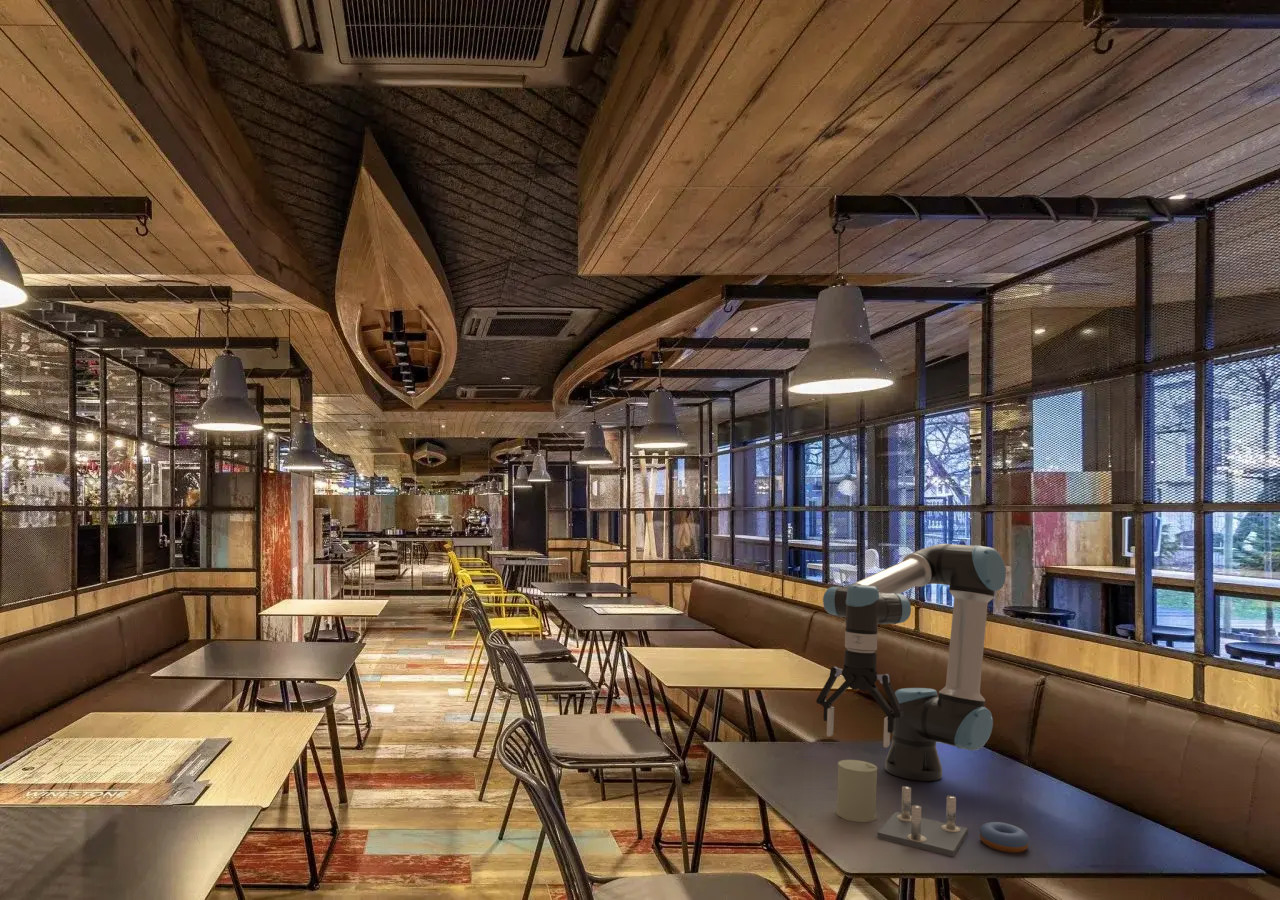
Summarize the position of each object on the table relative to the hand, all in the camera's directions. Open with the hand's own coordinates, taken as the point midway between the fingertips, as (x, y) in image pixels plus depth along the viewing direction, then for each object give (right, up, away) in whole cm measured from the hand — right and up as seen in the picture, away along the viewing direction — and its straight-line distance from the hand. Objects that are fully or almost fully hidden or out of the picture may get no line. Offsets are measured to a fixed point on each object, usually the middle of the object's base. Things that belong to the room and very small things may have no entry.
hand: (857, 740), depth 195 cm
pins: (+11, -16, -13) cm, 23 cm away
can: (-1, -17, -1) cm, 17 cm away
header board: (+11, -17, -12) cm, 24 cm away
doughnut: (+28, -18, -15) cm, 37 cm away
